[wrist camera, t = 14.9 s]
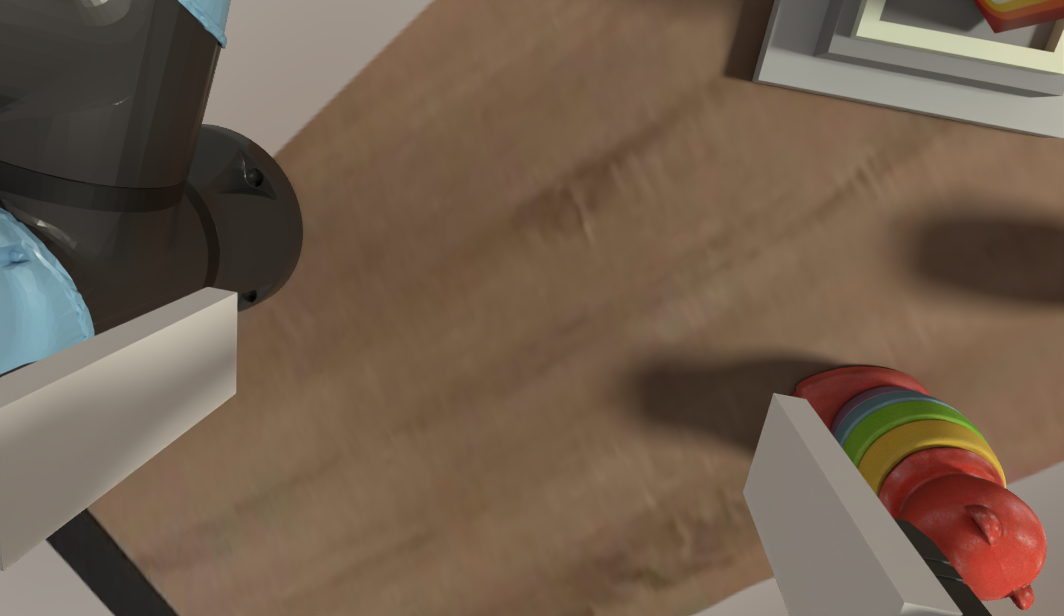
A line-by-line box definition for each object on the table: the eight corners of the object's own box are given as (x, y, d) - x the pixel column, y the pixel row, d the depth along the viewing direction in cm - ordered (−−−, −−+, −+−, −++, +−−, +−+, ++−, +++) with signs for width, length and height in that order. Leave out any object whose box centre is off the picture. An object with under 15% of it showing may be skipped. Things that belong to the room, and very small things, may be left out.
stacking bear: (782, 384, 50) (871, 520, 33) (913, 338, 48) (1082, 459, 31) (824, 495, 52) (928, 676, 35) (952, 457, 50) (1128, 630, 33)
